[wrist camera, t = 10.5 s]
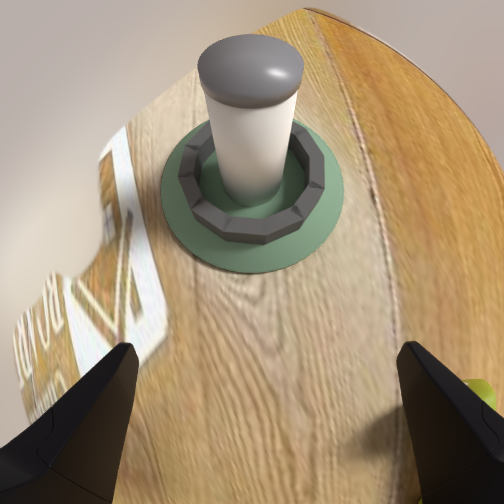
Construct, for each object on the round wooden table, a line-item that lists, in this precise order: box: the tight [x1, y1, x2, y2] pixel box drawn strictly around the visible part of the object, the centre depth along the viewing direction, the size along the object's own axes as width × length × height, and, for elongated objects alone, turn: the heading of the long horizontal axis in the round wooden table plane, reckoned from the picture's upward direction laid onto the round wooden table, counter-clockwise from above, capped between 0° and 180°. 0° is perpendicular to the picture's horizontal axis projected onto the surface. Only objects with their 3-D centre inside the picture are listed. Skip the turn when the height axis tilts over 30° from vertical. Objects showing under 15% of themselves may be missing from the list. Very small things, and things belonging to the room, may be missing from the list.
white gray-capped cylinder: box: [198, 34, 304, 206], centre depth 18 cm, size 5×5×13 cm
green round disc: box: [161, 119, 344, 273], centre depth 24 cm, size 16×16×3 cm
